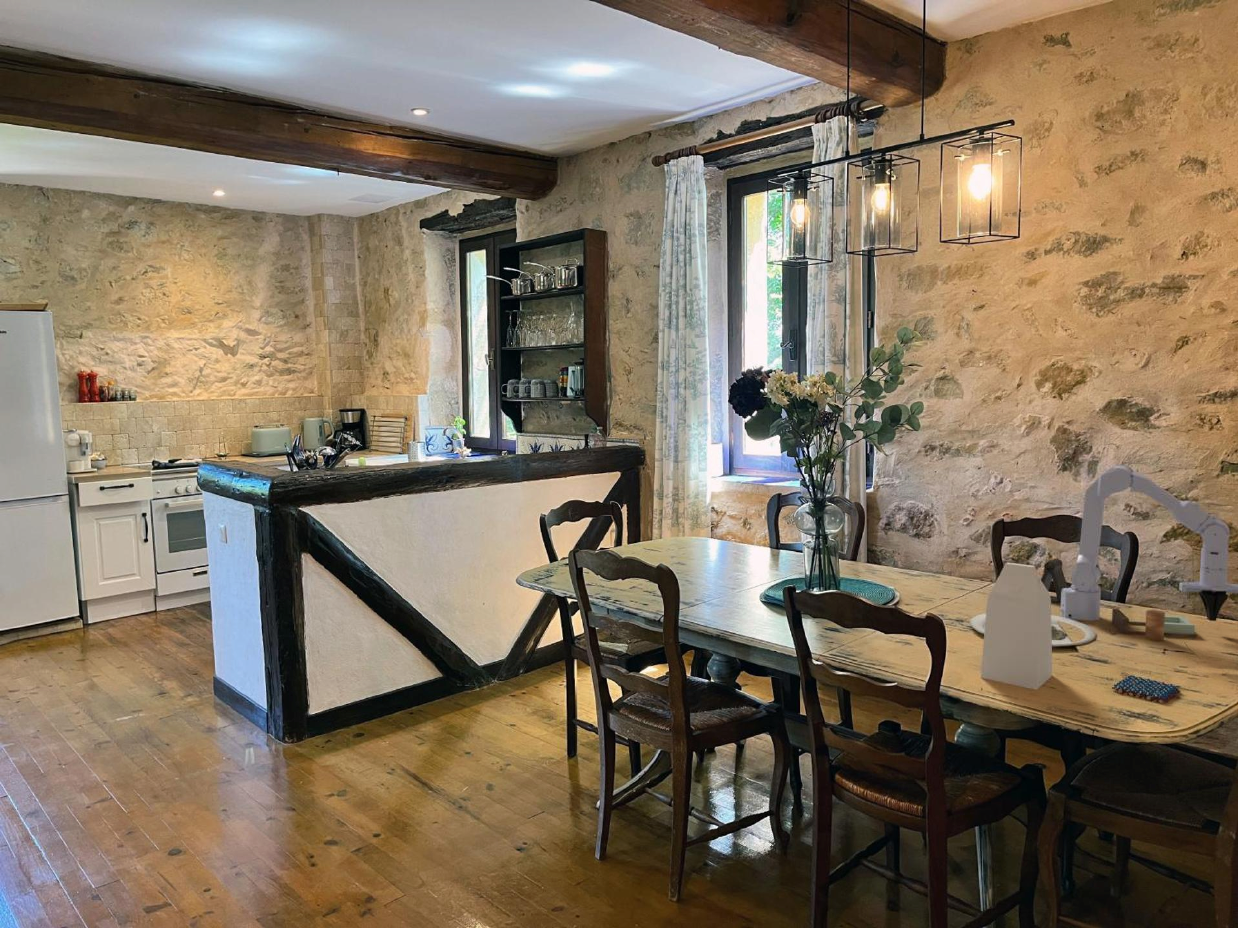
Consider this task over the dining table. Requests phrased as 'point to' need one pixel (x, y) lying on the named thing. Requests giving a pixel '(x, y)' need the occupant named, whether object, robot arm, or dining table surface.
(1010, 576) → the milk
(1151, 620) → the dowel
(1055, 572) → the door stopper
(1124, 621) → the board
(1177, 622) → the socket block
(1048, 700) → the dining table surface
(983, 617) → the plated food
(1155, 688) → the woven mat
